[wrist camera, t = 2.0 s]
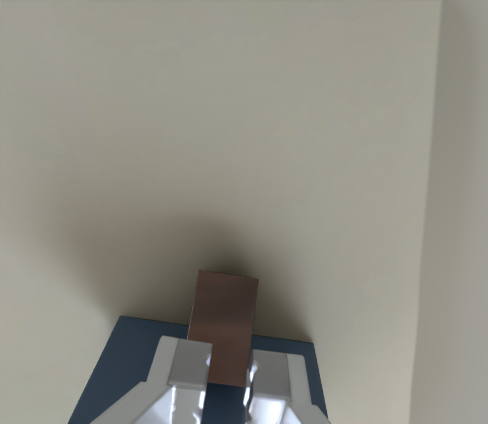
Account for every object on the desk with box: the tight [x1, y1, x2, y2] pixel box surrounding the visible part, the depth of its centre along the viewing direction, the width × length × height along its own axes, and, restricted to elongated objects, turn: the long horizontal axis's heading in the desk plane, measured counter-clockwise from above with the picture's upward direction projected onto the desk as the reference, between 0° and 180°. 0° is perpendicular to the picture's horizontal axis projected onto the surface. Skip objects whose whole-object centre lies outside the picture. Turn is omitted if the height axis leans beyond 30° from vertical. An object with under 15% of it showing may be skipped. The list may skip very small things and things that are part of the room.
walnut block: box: [187, 270, 258, 387], centre depth 25 cm, size 7×4×7 cm, turn 171°
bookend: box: [68, 316, 328, 424], centre depth 27 cm, size 8×16×10 cm, turn 81°
